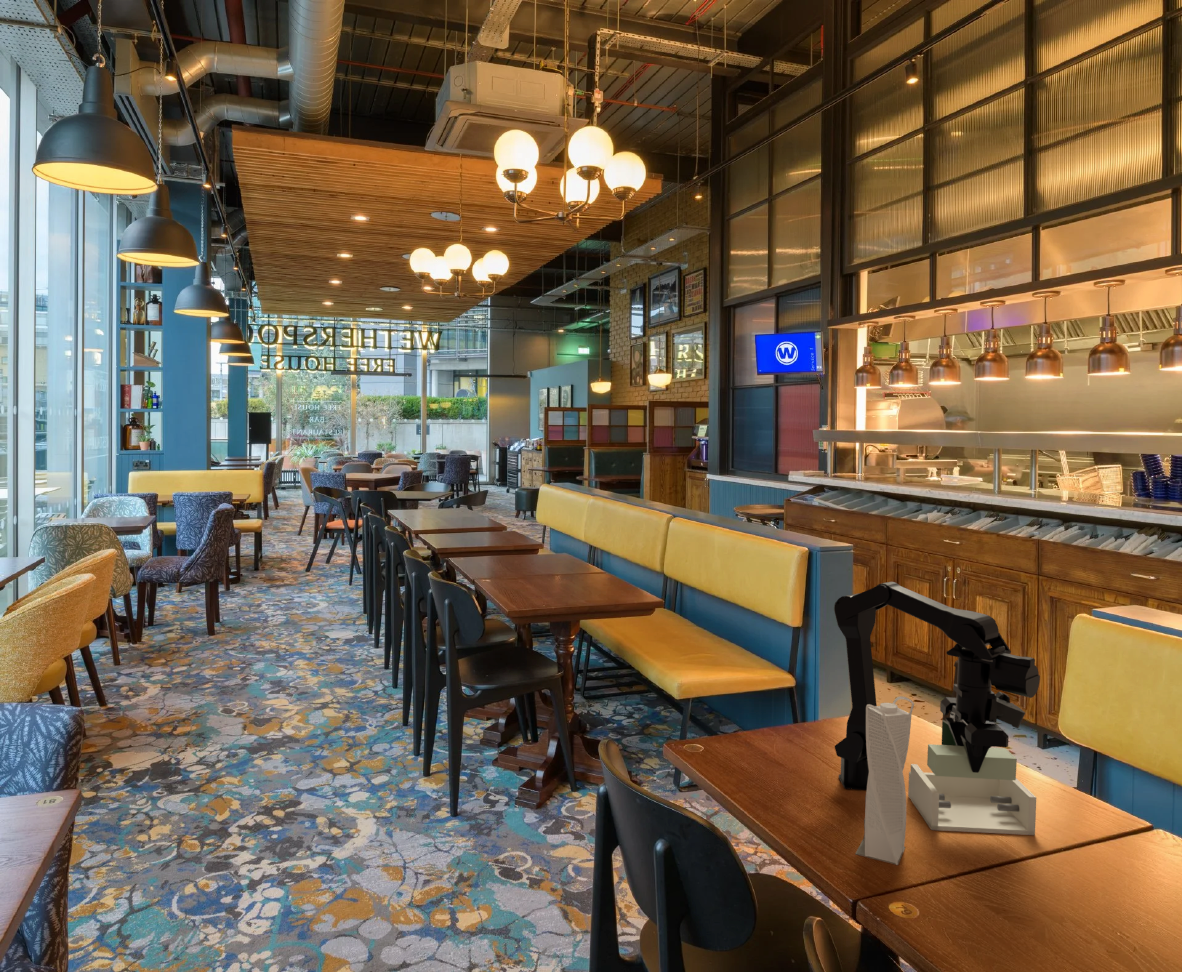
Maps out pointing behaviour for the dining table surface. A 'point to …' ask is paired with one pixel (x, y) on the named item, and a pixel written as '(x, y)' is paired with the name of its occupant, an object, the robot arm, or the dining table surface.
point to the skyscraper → (886, 782)
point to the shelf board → (957, 765)
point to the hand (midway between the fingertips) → (970, 766)
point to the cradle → (972, 803)
